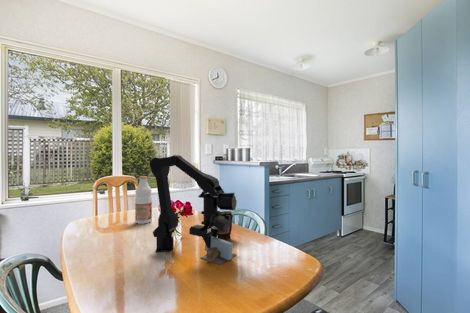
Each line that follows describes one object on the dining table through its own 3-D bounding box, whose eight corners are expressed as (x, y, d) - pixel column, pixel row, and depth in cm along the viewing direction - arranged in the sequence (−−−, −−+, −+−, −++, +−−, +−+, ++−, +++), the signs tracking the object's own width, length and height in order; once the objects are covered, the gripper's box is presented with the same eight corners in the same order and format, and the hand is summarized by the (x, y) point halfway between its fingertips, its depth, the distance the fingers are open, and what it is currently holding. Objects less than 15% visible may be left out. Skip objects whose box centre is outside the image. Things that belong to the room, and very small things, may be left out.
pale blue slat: (231, 258, 95) (232, 243, 94) (228, 260, 93) (229, 244, 93) (208, 249, 101) (209, 234, 101) (204, 250, 100) (205, 236, 99)
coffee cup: (230, 243, 112) (230, 214, 112) (213, 242, 114) (213, 214, 114) (234, 237, 121) (234, 210, 121) (218, 236, 123) (218, 210, 123)
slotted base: (219, 265, 89) (219, 253, 89) (198, 259, 95) (198, 247, 95) (237, 254, 99) (237, 243, 99) (218, 249, 105) (218, 239, 105)
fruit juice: (132, 222, 149) (132, 176, 149) (147, 219, 156) (147, 175, 156) (139, 225, 142) (139, 177, 142) (154, 222, 149) (154, 176, 149)
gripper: (210, 216, 87) (210, 260, 87) (239, 207, 102) (239, 244, 102) (188, 212, 93) (188, 253, 93) (218, 204, 109) (219, 239, 109)
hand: (210, 247), depth 99 cm, fingers closed on pale blue slat, 2 cm apart
